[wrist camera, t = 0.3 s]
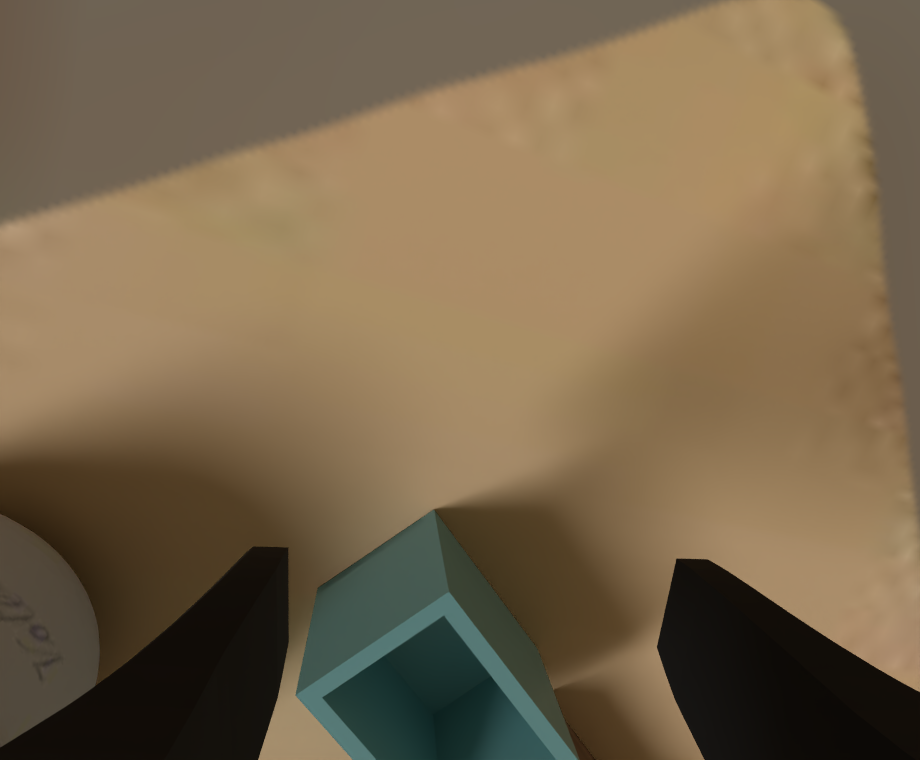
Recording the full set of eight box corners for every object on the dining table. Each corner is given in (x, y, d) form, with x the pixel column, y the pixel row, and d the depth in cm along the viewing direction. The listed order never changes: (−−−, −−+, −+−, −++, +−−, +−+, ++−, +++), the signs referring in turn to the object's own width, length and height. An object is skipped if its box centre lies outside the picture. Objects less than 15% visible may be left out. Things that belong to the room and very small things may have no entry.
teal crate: (428, 721, 24) (440, 858, 18) (317, 588, 22) (295, 695, 17) (537, 648, 24) (581, 764, 18) (433, 509, 22) (448, 591, 17)
